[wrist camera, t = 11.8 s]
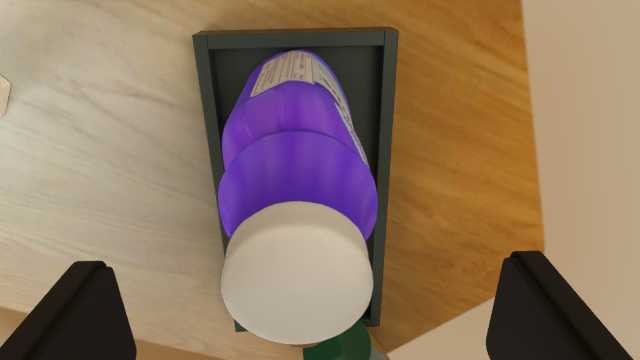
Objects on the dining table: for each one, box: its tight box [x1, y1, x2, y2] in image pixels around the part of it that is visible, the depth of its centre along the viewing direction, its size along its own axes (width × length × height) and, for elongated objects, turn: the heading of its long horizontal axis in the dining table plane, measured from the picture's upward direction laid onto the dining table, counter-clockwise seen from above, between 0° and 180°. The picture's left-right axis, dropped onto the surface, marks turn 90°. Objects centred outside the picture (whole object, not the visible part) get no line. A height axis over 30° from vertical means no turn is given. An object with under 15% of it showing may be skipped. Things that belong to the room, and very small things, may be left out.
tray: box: [192, 27, 399, 332], centre depth 29 cm, size 12×23×2 cm, turn 1°
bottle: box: [218, 50, 378, 345], centre depth 18 cm, size 7×6×17 cm
